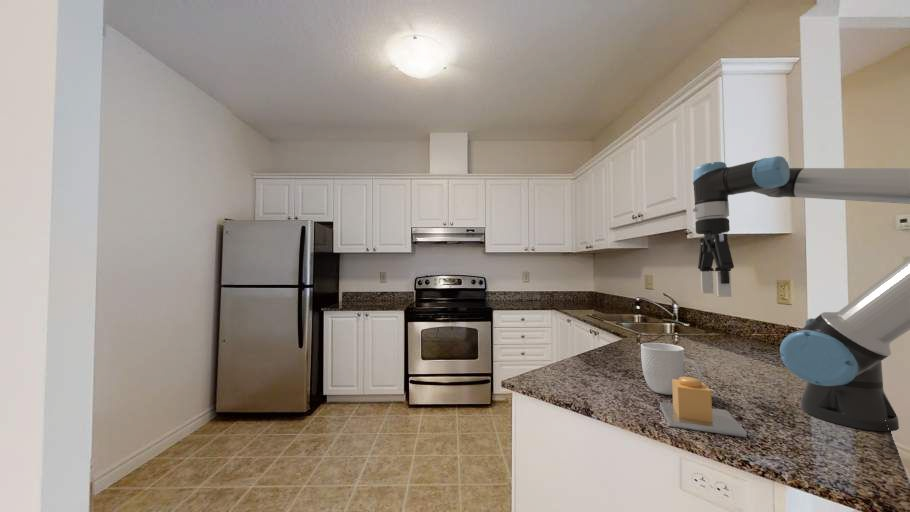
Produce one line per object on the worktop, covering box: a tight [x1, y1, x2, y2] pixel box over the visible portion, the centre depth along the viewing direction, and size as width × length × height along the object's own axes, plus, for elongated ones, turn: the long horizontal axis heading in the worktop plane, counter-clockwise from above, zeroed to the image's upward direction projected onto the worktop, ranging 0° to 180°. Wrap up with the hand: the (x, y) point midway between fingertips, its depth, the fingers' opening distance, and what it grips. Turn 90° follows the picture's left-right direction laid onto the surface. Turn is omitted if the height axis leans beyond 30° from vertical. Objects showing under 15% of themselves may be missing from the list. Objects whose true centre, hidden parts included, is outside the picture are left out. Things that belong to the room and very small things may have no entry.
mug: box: [640, 342, 703, 396], centre depth 97 cm, size 15×11×13 cm
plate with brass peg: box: [659, 401, 748, 438], centre depth 79 cm, size 14×12×7 cm
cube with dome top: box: [672, 376, 713, 422], centre depth 79 cm, size 6×6×8 cm
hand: (715, 295), depth 92 cm, fingers open, 13 cm apart
